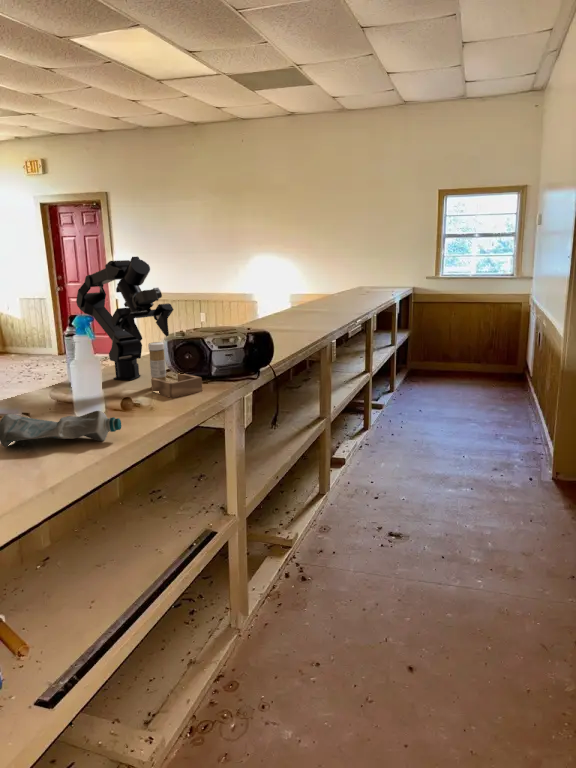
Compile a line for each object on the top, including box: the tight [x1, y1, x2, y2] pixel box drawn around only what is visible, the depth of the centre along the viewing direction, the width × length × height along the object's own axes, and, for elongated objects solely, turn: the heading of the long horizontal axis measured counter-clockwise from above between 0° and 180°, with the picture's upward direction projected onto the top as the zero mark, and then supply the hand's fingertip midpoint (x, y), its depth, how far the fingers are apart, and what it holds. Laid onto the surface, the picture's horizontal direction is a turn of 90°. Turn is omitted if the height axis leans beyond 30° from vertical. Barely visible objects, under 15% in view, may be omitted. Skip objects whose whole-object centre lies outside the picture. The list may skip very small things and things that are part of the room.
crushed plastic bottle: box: [0, 410, 122, 448], centre depth 119 cm, size 13×7×25 cm
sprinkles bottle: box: [148, 341, 167, 381], centre depth 166 cm, size 5×5×13 cm
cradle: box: [150, 372, 203, 399], centre depth 161 cm, size 10×10×4 cm
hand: (154, 337), depth 164 cm, fingers open, 9 cm apart
